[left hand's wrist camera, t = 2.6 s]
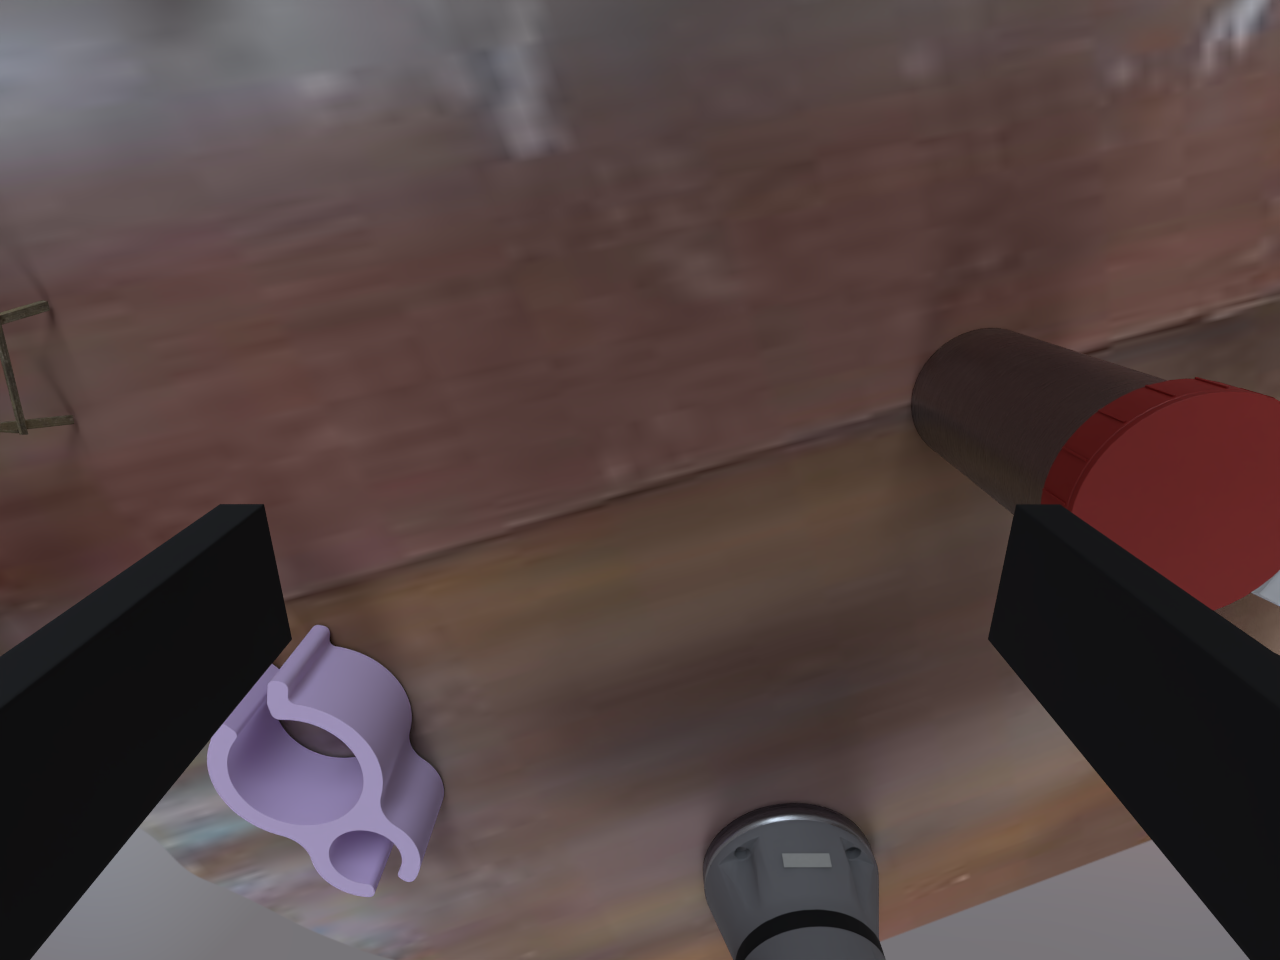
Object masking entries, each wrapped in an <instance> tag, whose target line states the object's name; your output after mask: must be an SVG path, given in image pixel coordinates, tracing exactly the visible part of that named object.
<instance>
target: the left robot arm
mask: <svg viewBox="0 0 1280 960" xmlns="http://www.w3.org/2000/svg"><path fill="white" fill-rule="evenodd" d="M291 640H292V637H291V633H290V628H289V623H288V618H287V613H286V609H285V604H284V599H283V594H282V589H281V584H280V580H279V575H278V570H277V565H276V560H275V555H274V551H273V546H272V541H271V536H270V531H269V527H268V522H267V517H266V512H265V507H264V504H220V505H218V506H217V507H216V508H214V509H213V510H211V511H210V512H208V513H207V514H205V515H204V516H203V517H201V518H200V519H198V520H197V521H195V522H194V523H192V524H191V525H190V526H188V527H187V528H185V529H184V530H182V531H181V532H179V533H178V534H177V535H175V536H174V537H172V538H171V539H169V540H168V541H166V542H165V543H164V544H162V545H161V546H159V547H158V548H156V549H155V550H153V551H152V552H151V553H149V554H148V555H146V556H145V557H143V558H142V559H141V560H139V561H138V562H136V563H135V564H133V565H132V566H130V567H129V568H128V569H126V570H125V571H123V572H122V573H120V574H119V575H117V576H116V577H115V578H113V579H112V580H110V581H109V582H107V583H106V584H104V585H103V586H102V587H100V588H99V589H97V590H96V591H94V592H93V593H91V594H90V595H89V596H87V597H86V598H84V599H83V600H81V601H80V602H78V603H77V604H76V605H74V606H73V607H71V608H70V609H68V610H67V611H66V612H64V613H63V614H61V615H60V616H58V617H57V618H55V619H54V620H53V621H51V622H50V623H48V624H47V625H45V626H44V627H42V628H41V629H40V630H38V631H37V632H35V633H34V634H32V635H31V636H29V637H28V638H27V639H25V640H24V641H22V642H21V643H19V644H18V645H16V646H15V647H14V648H12V649H11V650H9V651H8V652H6V653H5V654H3V655H2V656H1V657H0V960H30V959H31V958H32V957H33V955H34V954H35V953H36V952H37V950H38V949H39V948H40V947H41V946H42V944H43V943H44V942H45V941H46V940H47V938H48V937H49V936H50V935H51V933H52V932H53V931H54V930H55V929H56V927H57V926H58V925H59V924H60V922H61V921H62V920H63V919H64V917H65V916H66V915H67V914H68V913H69V911H70V910H71V909H72V908H73V906H74V905H75V904H76V903H77V902H78V900H79V899H80V898H81V897H82V895H83V894H84V893H85V892H86V891H87V889H88V888H89V887H90V886H91V884H92V883H93V882H94V881H95V880H96V878H97V877H98V876H99V875H100V873H101V872H102V871H103V870H104V868H105V867H106V866H107V865H108V864H109V862H110V861H111V860H112V859H113V858H114V856H115V855H116V854H117V853H118V851H119V850H120V849H121V848H122V847H123V845H124V844H125V843H126V842H127V840H128V839H129V838H130V837H131V835H132V834H133V833H134V832H135V831H136V829H137V828H138V827H139V826H140V824H141V823H142V822H143V821H144V820H145V818H146V817H147V816H148V815H149V813H150V812H151V811H152V810H153V809H154V807H155V806H156V805H157V804H158V802H159V801H160V800H161V799H162V798H163V796H164V795H165V794H166V793H167V791H168V790H169V789H170V788H171V787H172V785H173V784H174V783H175V782H176V780H177V779H178V778H179V777H180V776H181V774H182V773H183V772H184V771H185V769H186V768H187V767H188V766H189V765H190V763H191V762H192V761H193V760H194V758H195V757H196V756H197V755H198V754H199V752H200V751H201V750H202V749H203V747H204V746H205V745H206V744H207V742H208V741H209V740H210V739H211V738H212V736H213V735H214V734H215V733H216V731H217V730H218V729H219V728H220V727H221V725H222V724H223V723H224V722H225V720H226V719H227V718H228V717H229V716H230V714H231V713H232V712H233V711H234V709H235V708H236V707H237V706H238V705H239V703H240V702H241V701H242V700H243V698H244V697H245V696H246V695H247V694H248V692H249V691H250V690H251V689H252V687H253V686H254V685H255V684H256V683H257V681H258V680H259V679H260V678H261V676H262V675H263V674H264V673H265V672H266V670H267V669H268V668H269V667H270V665H271V664H272V663H273V662H274V660H275V659H276V658H277V657H278V656H279V654H280V653H281V652H282V651H283V649H284V648H285V647H286V646H287V645H288V643H289V642H290V641H291ZM988 640H989V641H990V642H991V643H992V645H993V646H994V647H995V648H996V649H997V651H998V652H999V653H1000V654H1001V656H1002V657H1003V658H1004V659H1005V660H1006V662H1007V663H1008V664H1009V665H1010V667H1011V668H1012V669H1013V670H1014V672H1015V673H1016V674H1017V675H1018V676H1019V678H1020V679H1021V680H1022V681H1023V683H1024V684H1025V685H1026V686H1027V687H1028V689H1029V690H1030V691H1031V692H1032V694H1033V695H1034V696H1035V697H1036V698H1037V700H1038V701H1039V702H1040V703H1041V705H1042V706H1043V707H1044V708H1045V709H1046V711H1047V712H1048V713H1049V714H1050V716H1051V717H1052V718H1053V719H1054V720H1055V722H1056V723H1057V724H1058V725H1059V727H1060V728H1061V729H1062V730H1063V731H1064V733H1065V734H1066V735H1067V736H1068V738H1069V739H1070V740H1071V741H1072V742H1073V744H1074V745H1075V746H1076V747H1077V749H1078V750H1079V751H1080V752H1081V754H1082V755H1083V756H1084V757H1085V758H1086V760H1087V761H1088V762H1089V763H1090V765H1091V766H1092V767H1093V768H1094V769H1095V771H1096V772H1097V773H1098V774H1099V776H1100V777H1101V778H1102V779H1103V780H1104V782H1105V783H1106V784H1107V785H1108V787H1109V788H1110V789H1111V790H1112V791H1113V793H1114V794H1115V795H1116V796H1117V798H1118V799H1119V800H1120V801H1121V802H1122V804H1123V805H1124V806H1125V807H1126V809H1127V810H1128V811H1129V812H1130V813H1131V815H1132V816H1133V817H1134V818H1135V820H1136V821H1137V822H1138V823H1139V824H1140V826H1141V827H1142V828H1143V829H1144V831H1145V832H1146V833H1147V834H1148V836H1149V837H1150V838H1151V839H1152V840H1153V842H1154V843H1155V844H1156V845H1157V846H1158V848H1159V849H1160V850H1161V851H1162V853H1163V854H1164V855H1165V856H1166V858H1167V859H1168V860H1169V861H1170V862H1171V864H1172V865H1173V866H1174V867H1175V869H1176V870H1177V871H1178V872H1179V873H1180V875H1181V876H1182V877H1183V878H1184V880H1185V881H1186V882H1187V883H1188V884H1189V886H1190V887H1191V888H1192V889H1193V891H1194V892H1195V893H1196V894H1197V895H1198V897H1199V898H1200V899H1201V900H1202V902H1203V903H1204V904H1205V905H1206V906H1207V908H1208V909H1209V910H1210V911H1211V913H1212V914H1213V915H1214V916H1215V917H1216V919H1217V920H1218V921H1219V922H1220V924H1221V925H1222V926H1223V927H1224V928H1225V930H1226V931H1227V932H1228V933H1229V935H1230V936H1231V937H1232V938H1233V939H1234V941H1235V942H1236V943H1237V944H1238V946H1239V947H1240V948H1241V949H1242V951H1243V952H1244V953H1245V954H1246V955H1247V957H1248V958H1249V959H1250V960H1280V655H1278V654H1276V653H1274V652H1272V651H1271V650H1269V649H1268V648H1266V647H1265V646H1264V645H1262V644H1261V643H1259V642H1258V641H1256V640H1255V639H1253V638H1252V637H1251V636H1249V635H1248V634H1246V633H1245V632H1243V631H1242V630H1240V629H1239V628H1238V627H1236V626H1235V625H1233V624H1232V623H1230V622H1229V621H1227V620H1226V619H1225V618H1223V617H1222V616H1220V615H1219V614H1217V613H1216V612H1214V611H1213V610H1212V609H1210V608H1209V607H1207V606H1206V605H1204V604H1203V603H1202V602H1200V601H1199V600H1197V599H1196V598H1194V597H1193V596H1191V595H1190V594H1189V593H1187V592H1186V591H1184V590H1183V589H1181V588H1180V587H1178V586H1177V585H1176V584H1174V583H1173V582H1171V581H1170V580H1168V579H1167V578H1165V577H1164V576H1163V575H1161V574H1160V573H1158V572H1157V571H1155V570H1154V569H1152V568H1151V567H1150V566H1148V565H1147V564H1145V563H1144V562H1142V561H1141V560H1139V559H1138V558H1137V557H1135V556H1134V555H1132V554H1131V553H1129V552H1128V551H1127V550H1125V549H1124V548H1122V547H1121V546H1119V545H1118V544H1116V543H1115V542H1114V541H1112V540H1111V539H1109V538H1108V537H1106V536H1105V535H1103V534H1102V533H1101V532H1099V531H1098V530H1096V529H1095V528H1093V527H1092V526H1090V525H1089V524H1088V523H1086V522H1085V521H1083V520H1082V519H1080V518H1079V517H1077V516H1076V515H1075V514H1073V513H1072V512H1070V511H1069V510H1067V509H1066V508H1064V507H1063V506H1062V505H1060V504H1016V507H1015V512H1014V517H1013V522H1012V527H1011V531H1010V536H1009V541H1008V546H1007V551H1006V555H1005V560H1004V565H1003V570H1002V575H1001V580H1000V584H999V589H998V594H997V599H996V604H995V609H994V613H993V618H992V623H991V628H990V633H989V637H988ZM703 878H704V889H705V896H706V900H707V903H708V906H709V908H710V910H711V913H712V915H713V917H714V919H715V921H716V923H717V925H718V928H719V930H720V932H721V934H722V936H723V938H724V941H725V943H726V945H727V947H728V949H729V951H730V954H731V956H732V958H733V960H885V956H884V953H883V950H882V947H881V944H880V941H879V876H878V868H877V864H876V861H875V858H874V855H873V853H872V850H871V847H870V844H869V842H868V840H867V838H866V837H865V835H864V834H863V832H862V831H861V830H860V829H859V827H857V826H856V825H855V824H854V823H853V822H852V821H851V820H849V819H848V818H846V817H845V816H843V815H841V814H839V813H837V812H835V811H833V810H830V809H827V808H824V807H820V806H816V805H810V804H799V803H790V804H778V805H772V806H767V807H764V808H760V809H757V810H754V811H752V812H749V813H747V814H745V815H743V816H741V817H739V818H737V819H736V820H734V821H733V822H731V823H730V824H729V825H727V826H726V827H725V828H724V829H723V830H722V831H721V832H720V833H719V834H718V835H717V836H716V837H715V838H714V840H713V841H712V843H711V844H710V846H709V848H708V850H707V853H706V855H705V859H704V864H703Z"/></svg>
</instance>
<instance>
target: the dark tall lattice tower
mask: <svg viewBox="0 0 1280 960" xmlns="http://www.w3.org/2000/svg"><path fill="white" fill-rule="evenodd" d="M49 310H50V309H49V305H48V302H47V301H38V302H35V303H32V304H28V305H25V306H22V307H18V308H15V309H11V310H8V311H5V312H1V313H0V358H1V362H2V366H3V370H4V374H5V378H6V382H7V386H8V390H9V394H10V399H11V403H12V407H13V411H14V415H15V419H16V421H9V422H0V432H8V433H19V434H22V435H23V434H28V432H27V429H32V428H42V427H51V426H60V425H69V424H74V420H73V416H72V415H66V416H57V417H47V418H38V419H28V420H24V415H23V411H22V407H21V403H20V399H19V395H18V391H17V387H16V382H15V378H14V374H13V370H12V366H11V362H10V358H9V354H8V350H7V345H6V341H5V337H4V333H3V329H2V324H5V323H9V322H12V321H15V320H19V319H22V318H26V317H29V316H32V315H36V314H39V313H42V312H46V311H49Z"/></svg>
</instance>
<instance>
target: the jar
mask: <svg viewBox="0 0 1280 960" xmlns="http://www.w3.org/2000/svg"><path fill="white" fill-rule="evenodd" d="M1164 381H1167V380H1164V379H1161V378H1158V377H1155V376H1152V375H1148V374H1145V373H1142V372H1139V371H1136V370H1133V369H1130V368H1126V367H1123V366H1120V365H1117V364H1114V363H1111V362H1107V361H1104V360H1101V359H1098V358H1095V357H1092V356H1089V355H1085V354H1082V353H1079V352H1076V351H1073V350H1070V349H1067V348H1063V347H1060V346H1057V345H1054V344H1051V343H1048V342H1044V341H1041V340H1038V339H1035V338H1032V337H1029V336H1026V335H1022V334H1019V333H1016V332H1013V331H1010V330H1006V329H1000V328H985V329H978V330H973V331H970V332H967V333H964V334H962V335H960V336H958V337H956V338H954V339H952V340H950V341H949V342H947V343H946V344H944V345H943V346H942V347H941V348H939V349H938V350H937V351H936V352H935V353H934V354H933V355H932V356H931V357H930V359H929V360H928V361H927V362H926V364H925V365H924V367H923V368H922V370H921V372H920V374H919V376H918V378H917V380H916V383H915V386H914V389H913V395H912V406H911V408H912V417H913V421H914V424H915V427H916V429H917V431H918V433H919V435H920V436H921V438H922V439H923V440H924V442H925V443H926V444H927V445H928V446H929V447H931V448H932V449H933V450H934V451H935V452H937V453H938V454H939V455H940V456H941V457H943V458H944V459H945V460H946V461H948V462H949V463H950V464H951V465H953V466H954V467H955V468H956V469H958V470H959V471H960V472H961V473H963V474H964V475H965V476H966V477H968V478H969V479H970V480H971V481H972V482H974V483H975V484H976V485H977V486H979V487H980V488H981V489H982V490H984V491H985V492H986V493H987V494H989V495H990V496H991V497H992V498H994V499H995V500H996V501H997V502H998V503H1000V504H1001V505H1002V506H1003V507H1005V508H1006V509H1007V510H1008V511H1010V512H1011V513H1012V514H1013V515H1014V512H1015V507H1016V504H1041V496H1042V492H1043V491H1042V489H1043V488H1044V484H1045V481H1046V478H1047V476H1048V473H1049V471H1050V468H1051V466H1052V464H1053V463H1054V461H1055V459H1056V457H1057V455H1058V453H1059V452H1060V451H1061V449H1062V447H1063V446H1064V445H1065V443H1066V442H1067V441H1068V439H1069V438H1070V437H1071V436H1072V435H1073V434H1074V433H1075V432H1076V430H1077V429H1078V428H1079V427H1080V426H1081V425H1082V424H1083V423H1085V422H1086V421H1087V420H1088V419H1089V418H1090V417H1091V416H1092V415H1094V414H1095V413H1096V412H1098V410H1099V409H1102V408H1103V407H1104V406H1106V405H1108V404H1109V403H1111V402H1113V401H1114V400H1116V399H1118V398H1119V397H1121V396H1123V395H1126V394H1128V393H1130V392H1132V391H1134V390H1136V389H1139V388H1142V387H1145V385H1151V384H1155V383H1160V382H1164Z"/></svg>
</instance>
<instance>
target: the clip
mask: <svg viewBox="0 0 1280 960" xmlns="http://www.w3.org/2000/svg"><path fill="white" fill-rule="evenodd" d="M279 720H295V721H301V722H306V723H309V724H312V725H315V726H318V727H320V728H323V729H325V730H327V731H328V732H330V733H332V734H333V735H335V736H336V737H338V738H339V739H340V740H342V741H343V742H344V743H345V744H346V745H347V746H348V747H349V748H350V749H351V751H352V752H353V753H354V755H355V756H356V757H350V758H337V757H330V756H325V755H321V754H318V753H316V752H313V751H311V750H309V749H307V748H305V747H303V746H302V745H300V744H299V743H297V742H296V741H295V740H294V739H293V738H291V737H290V736H289V735H288V733H287V732H286V731H285V730H284V728H283V727H282V726H281V724H280V722H279ZM411 723H412V712H411V706H410V702H409V699H408V697H407V695H406V692H405V691H404V689H403V687H402V686H401V684H400V683H399V681H398V680H397V679H396V678H395V677H394V676H393V674H392V673H391V672H389V671H388V670H387V669H386V668H385V667H384V666H382V665H381V664H380V663H378V662H377V661H375V660H373V659H372V658H370V657H368V656H366V655H364V654H361V653H359V652H356V651H353V650H350V649H346V648H342V647H336V646H334V645H332V644H331V643H330V630H329V629H328V628H327V627H326V626H322V625H315V626H314V627H313V628H312V629H311V630H310V631H309V633H308V634H307V635H306V636H305V638H304V639H303V640H302V642H301V643H300V644H299V645H298V647H297V648H296V649H295V650H294V652H293V653H292V654H291V655H290V657H289V658H288V659H287V661H286V662H285V663H284V664H283V666H282V667H281V668H280V669H278V668H277V667H276V666H274V665H273V664H271V665H270V667H269V668H268V669H267V670H266V672H265V673H264V674H263V675H262V676H261V678H260V679H259V680H258V681H257V683H256V684H255V685H254V686H253V687H252V689H251V690H250V691H249V692H248V694H247V695H246V696H245V697H244V698H243V700H242V701H241V702H240V703H239V705H238V706H237V707H236V708H235V709H234V711H233V712H232V713H231V714H230V716H229V717H228V718H227V719H226V720H225V722H224V723H223V724H222V725H221V727H220V728H219V729H218V730H217V731H216V733H215V734H214V735H213V736H212V738H211V742H210V745H209V749H208V754H207V765H208V771H209V775H210V778H211V781H212V783H213V785H214V787H215V789H216V791H217V792H218V794H219V795H220V797H221V798H222V799H223V801H224V802H225V803H226V804H227V805H228V806H229V807H230V808H231V809H232V810H233V811H234V812H235V813H237V814H238V815H239V816H241V817H242V818H243V819H245V820H246V821H248V822H250V823H251V824H253V825H255V826H257V827H259V828H261V829H263V830H266V831H268V832H271V833H274V834H277V835H281V836H284V837H287V838H290V839H292V840H294V841H296V842H297V843H299V844H300V845H301V846H303V847H304V848H305V849H306V851H307V852H308V853H309V855H310V857H311V860H312V862H313V865H314V867H315V869H316V870H317V872H318V873H319V874H320V875H321V876H322V877H323V878H324V879H325V880H326V881H327V882H328V883H330V884H331V885H333V886H334V887H336V888H338V889H340V890H342V891H344V892H347V893H350V894H353V895H357V896H363V897H371V896H373V895H374V893H375V891H376V888H377V886H378V883H379V881H380V878H381V875H382V873H383V870H384V868H385V865H386V863H387V860H388V858H389V855H390V852H391V850H392V847H393V845H394V844H395V845H396V846H397V848H398V849H399V851H400V853H401V856H402V864H401V867H400V869H399V872H398V876H399V877H400V878H401V879H402V880H404V881H407V882H411V881H414V880H415V878H416V877H417V875H418V872H419V869H420V866H421V863H422V861H423V858H424V855H425V852H426V849H427V846H428V843H429V840H430V837H431V834H432V831H433V828H434V825H435V822H436V819H437V816H438V813H439V810H440V807H441V804H442V801H443V797H444V786H443V783H442V780H441V778H440V776H439V774H438V773H437V771H436V770H435V769H434V768H433V767H432V766H431V765H430V764H429V763H428V762H427V761H425V760H424V759H422V758H421V757H420V756H419V755H418V754H417V753H416V752H415V751H414V750H413V748H412V746H411V744H410V739H409V734H410V729H411Z"/></svg>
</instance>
